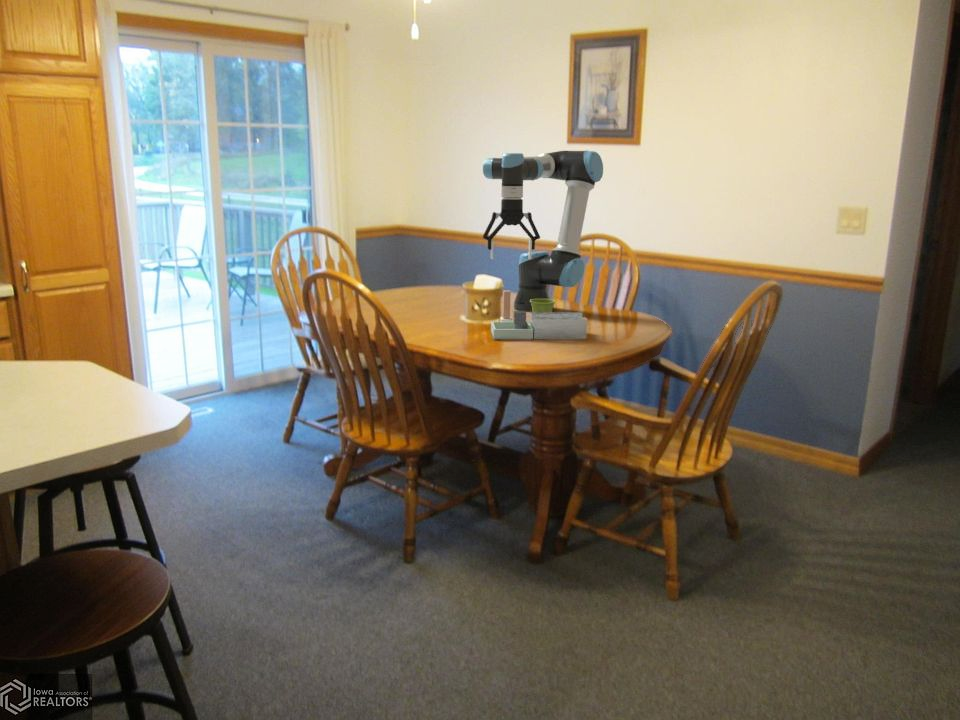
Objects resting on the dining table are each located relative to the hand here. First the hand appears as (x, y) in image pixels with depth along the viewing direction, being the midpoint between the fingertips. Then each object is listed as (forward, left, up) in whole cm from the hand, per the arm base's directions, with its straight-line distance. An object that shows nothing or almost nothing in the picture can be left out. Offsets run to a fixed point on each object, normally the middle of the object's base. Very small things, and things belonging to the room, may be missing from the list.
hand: (511, 259), depth 286 cm
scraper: (+1, -1, -25) cm, 25 cm away
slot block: (+14, +16, -25) cm, 32 cm away
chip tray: (+14, -1, -25) cm, 28 cm away
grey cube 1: (+14, +2, -21) cm, 25 cm away
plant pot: (-6, +13, -25) cm, 29 cm away
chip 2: (+14, +5, -23) cm, 27 cm away
